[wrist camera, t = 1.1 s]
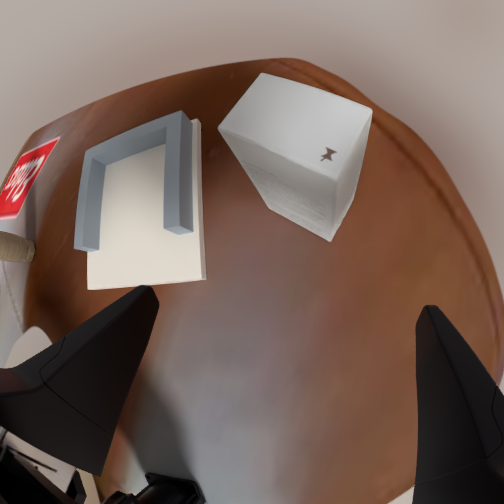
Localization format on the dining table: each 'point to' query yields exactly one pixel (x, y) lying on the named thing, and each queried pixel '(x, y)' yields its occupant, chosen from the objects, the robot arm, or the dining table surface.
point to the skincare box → (300, 149)
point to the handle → (15, 248)
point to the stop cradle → (143, 206)
